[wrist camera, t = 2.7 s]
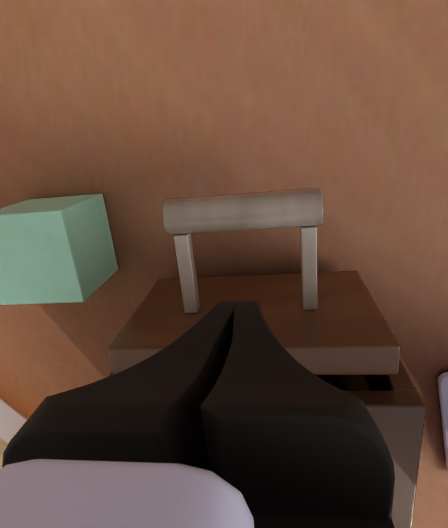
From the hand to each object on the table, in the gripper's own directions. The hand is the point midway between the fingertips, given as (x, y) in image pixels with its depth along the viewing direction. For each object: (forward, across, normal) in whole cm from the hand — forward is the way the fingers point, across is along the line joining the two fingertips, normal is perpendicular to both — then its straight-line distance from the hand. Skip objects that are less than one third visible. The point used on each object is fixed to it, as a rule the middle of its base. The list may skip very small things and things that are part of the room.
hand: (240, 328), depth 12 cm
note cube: (+8, +10, -1) cm, 13 cm away
